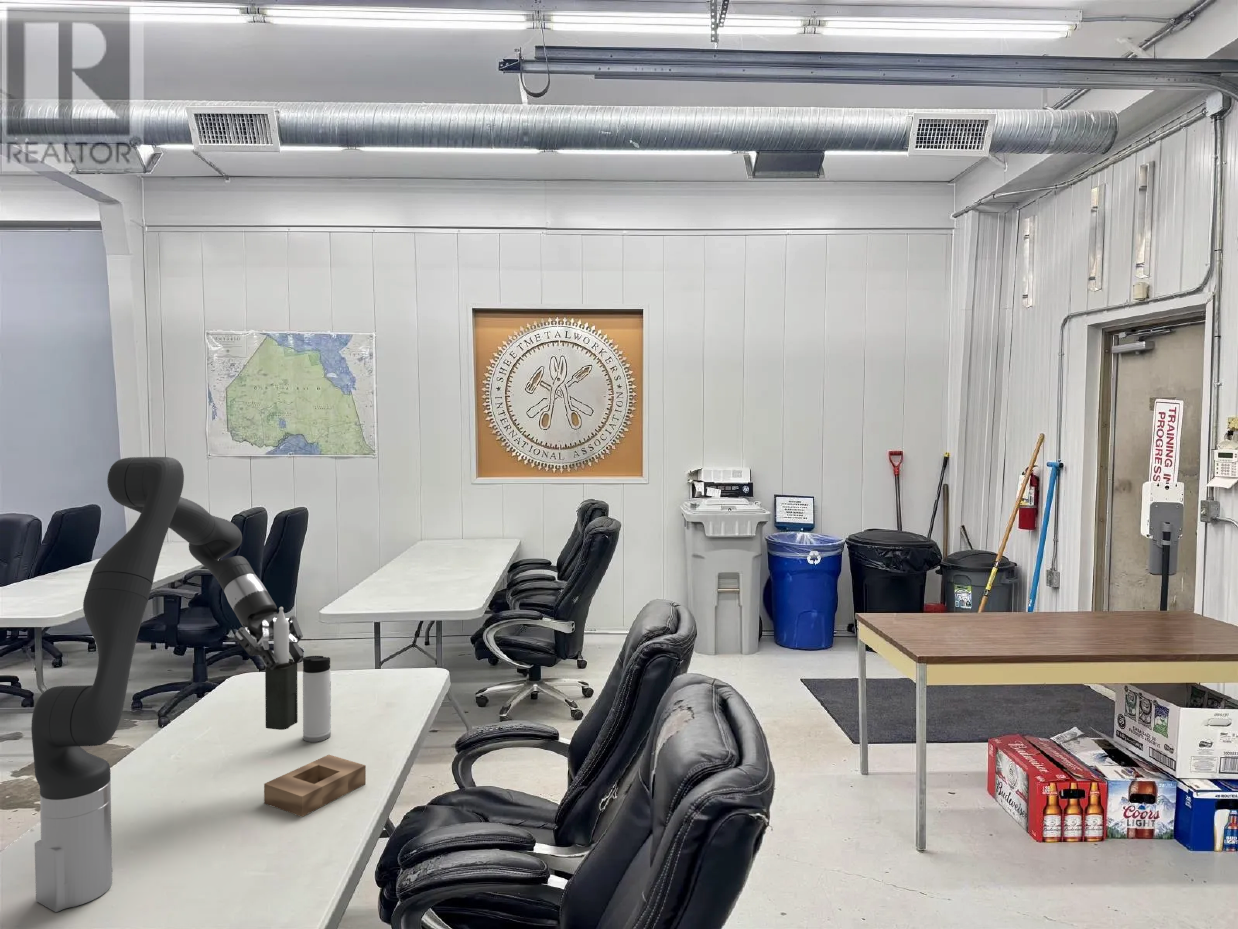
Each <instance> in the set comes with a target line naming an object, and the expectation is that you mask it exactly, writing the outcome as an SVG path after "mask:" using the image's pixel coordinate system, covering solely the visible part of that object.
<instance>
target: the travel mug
mask: <svg viewBox="0 0 1238 929" xmlns="http://www.w3.org/2000/svg"><path fill="white" fill-rule="evenodd" d="M331 683H332V681H331V657H329V656H328V657H326V656H324V655H309V656H308V655H307V656H303V659H302V738H303V739H302V740H304V741H305V742H308V743H318V741H319V742H323V741H325V739H326V740H327V738H328V739H329V738H330V737H331V735H332V730H331V729H332V724H331V722H332V720H331V719H332V718H331V717H332V715H331V713H332V710H331V709H332V705H331V701H332V700H331V698H332V696H331V692H332V691H331ZM322 740H323V741H322Z"/></svg>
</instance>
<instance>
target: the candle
mask: <svg viewBox="0 0 1238 929" xmlns="http://www.w3.org/2000/svg"><path fill="white" fill-rule="evenodd" d="M278 610H279V612H278V617H277V619H276V621H275V622H274V640H273V654H274V655H275V657H276V659H277V660H278V662H279V665H278V666H277V668H276V669H274V670H271V669H270V668H268V667H267V666H266V665H265V667H264V668H265V670H264V672H265V674H264V677H265V678H264V679H265V684H264V685H265V688H264V689H265V696H264V697H265V705H264V706H265V707H264V708H265V728H266V729H269V730H278V731H279V730H281V731H282V730H289V728H290V727H292V726H293V725H295V724H297V723H298V720H299V719H298V717H299V715H298V709H299V708H298V663H297V662H295V661H294V659H293V658H290V653H289V641H290V640H289V622H288V621H287V619H286V616H285V612H284V607H283V606H280V607H279V608H278Z"/></svg>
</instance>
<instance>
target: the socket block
mask: <svg viewBox="0 0 1238 929" xmlns="http://www.w3.org/2000/svg"><path fill="white" fill-rule="evenodd" d="M366 771H367V770H366V765H365V764H363V763H359V762H356V761H352V760H349V759H345V758H343V757H339V756H334V755H332V754H327V755H324V756H322V757H320V758H318V759H315V760H314V761H311V762H309V763H307V764H305V765H302V766H300V767H298V768H296V769H293V770H291V771H290V772H287V773H285V774H283V775H281V776H280V775H279V776H278V777H275V778H274V779H272V780H269V781H267V782H265V783H263V789H264V790H263V793H264V794H263V802H264V803H263V804H264V805H265V804H266V805H267V804H268V805H267V806H270V807H273V808H276V809H279V810H282V811H284V812H287V811H288V812H287V813H290V814H293V815H295V814H296V816H297V817H298V816H299V817H301V818H302V817H303V818H304V817H305V816H306V815H307V816H308V815H309V814H311V813H312V811H313V812H314V811H317V810H318V809H321V808H322V807H324V806H325V804H326V805H328V804H330V803H332V802H333V801H336V800H337V799H339V798H342V797H343V796H346V795H347V794H349V793H351V792H353V791H355V790H357V789H359V788H361V787H363V786H365V785H366V783H367V782H366V779H367V778H366V776H367V775H366ZM316 809H317V810H316Z"/></svg>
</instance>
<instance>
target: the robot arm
mask: <svg viewBox="0 0 1238 929" xmlns="http://www.w3.org/2000/svg"><path fill="white" fill-rule="evenodd" d="M184 481H185V474H184V469H183V465H182V464H181V462H180V461H179V460H178V459H176V458H174V457H168V456H167V457H166V456H133V457H132V456H131V457H125V458H124V457H123V458H120V459H118V460H116V461H115V462H114V463H113V464H112V465H111V466H110V468H109V471H108V473H107V481H106V482H107V483H106V484H107V488H108V492H109V494H110V495H111V497H112V499H113V500H114V501H116V502H117V503H118V504H119V505H122V506H124V507H125V508H127V509H130V510H134V511H136V512H138V513H140V515H139V516H138V518H137V520H136V521H135V523H134V524H133V526H131V528H130V529H129V530H128V531H127V532H126V533H125V534H124V535H123V536H122V537H121V538H120V539H119V540H118V541H117V542H116V543H114V544H113V545H112V546H111V548H109V549H108V550H107V551H106V552H105V553H104V554H103V555H102V556H101V558H100V559H99V560H98V561H97V563H95V564H96V565H95V566H94V567H93V569H92V572H91V575H90V578H89V581H88V584H87V588H86V591H85V595H84V598H83V602H82V604H83V605H82V609H83V610H82V611H83V613H84V616H85V621H86V623H87V625H88V628H89V631H90V632H91V634H92V637H93V639H94V643H95V644H96V647H97V653H98V661H97V662H98V663H97V670H96V675H95V679H94V681H93V684H92V685H88V684H87V685H58V686H52V687H50V688H48V689H46V690H44V692H43V693H41V695H40V696H39V697H38V698H37V701H36V703H35V705H34V708H33V711H32V716H31V726H30V727H31V730H30V731H31V744H32V751H33V752H32V753H33V763H34V764H33V766H34V775H35V779H36V782H37V784H38V786H39V800H40V801H39V803H40V804H39V806H40V807H39V808H40V839H39V840H37V841H35V842H34V870H35V872H34V873H35V874H34V875H35V876H34V878H35V879H34V880H35V902H37V903H39V904H40V905H42V906H45V907H46V908H47V909H50V910H51V911H53V912H54V913H57V912H58V913H59V912H60V911H62V910H65V909H68V908H69V909H70V908H73V907H74V908H75V907H78V906H81V905H83V904H86V903H87V904H88V903H89V902H91V901H93V900H96V899H98V898H99V897H101V896H102V895H105V893H107V891H109V889H110V888H111V887H112V885H113V846H112V845H113V844H112V842H113V841H112V840H113V839H112V835H113V834H112V784H111V782H112V781H111V778H112V777H111V776H112V775H111V766H110V763H109V761H108V760H106V759H104V758H103V757H100V756H98V755H97V756H96V755H94V754H92V753H90V752H88V751H87V750H85V749H84V748H83V747H95V746H102V745H105V744H106V743H108V742H109V741H110V740H111V739H112V738H113V737H114V735H115V733H116V732H117V729H118V727H119V725H120V721H121V718H122V715H123V710H124V705H125V701H126V695H127V690H128V685H129V679H130V673H131V667H132V661H133V656H134V650H135V647H136V644H137V640H138V635H139V633H140V632H139V631H140V630H141V629H140V628H141V626H142V625H141V624H142V621H143V618H144V614H145V612H146V608H147V605H148V601H149V598H150V595H151V591H152V587H153V583H154V579H155V574H156V570H157V566H158V562H159V559H160V555H161V551H162V549H163V545H164V541H165V539H166V537H167V533H168V531H169V529H170V530H171V531H173V532H174V533H176V534H177V535H178V536H179V537H180V538H182V539H184V540H185V541H186V542H187V543H188V550H189V553H190V554H191V555H192V556H193V559H195V560H197V562H199V563H200V564H201V565H202V566H204V567H205V569H207V570H208V571H209V572H210V573H211V574H212V575H213V576H214V578H215V579H216V580H217V582H218V584H219V585H220V588H221V589H222V591H223V592H224V594H225V597H226V599H227V602H228V604H229V606H230V607H231V608H232V611H233V612H234V614H235V616H236V618H237V619H238V620H239V623H240V624H241V626H242V627H241V626H240V628H238V630H237V631H236V632H235V633H234V635H233V638H234V639H235V640H236V641H237V643H238V644H239V645H240V646H241V647H242V648H243V650H244V651H245V652H246V653H247V654H248V656H250V657H254V656H259V657H260V658H261V659H262V661H263V662H264V664H265V667H266V666H267V667H268V668H270V669H271V670H274V669H276V668H277V666H278V665H279V662H278V660H277V659H276V657H275V655H274V651H272V649H270V644H269V641H272V640H273V641H274V622H275V621H276V619H277V617H278V614H279V612H278V607H277V605H276V603H275V601H274V600H273V599H272V596H271V595H270V593H269V591H268V590H267V588H266V587H265V585H264V584H263V582H262V581H261V579H260V578H259V577H258V576H257V575H256V573H255V571H254V569H253V568H252V566H251V564H250V562H249V561H248V560H247V558H245V557H244V556H241V555H235V556H234V555H233V556H230V557H226V558H224V559H221V558H223V557H225V556H227V555H229V554H230V553H231V552H233V551H235V550H237V549H238V548H239V547H240V546H241V544H242V542H243V534H242V532H241V530H240V528H239V527H238V526H237V525H236V524H235V523H233V522H232V521H230V520H228V519H225V518H223V517H219V516H215V515H212V514H210V512H208V511H207V510H206V509H205V508H204V507H203V506H202V505H200V504H199V503H197V502H194V501H192V500H190V499H187V498H184V497H183V496H182V493H183V488H184V483H185V482H184ZM285 618H286V617H285ZM286 619H287V621H288V622H289V655H290V656H291V657H292V658H291V659H292V660H293V662H297V664H299V663H300V662H301V661H303V658H304V652H303V650H302V649H301V647H300V645H299V642H300V641H301V640H302V638H303V637H304V636H303V632H302V630H301V627H300V625H299V622H298V620H297V617H296V615H290V617H287V618H286Z"/></svg>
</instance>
